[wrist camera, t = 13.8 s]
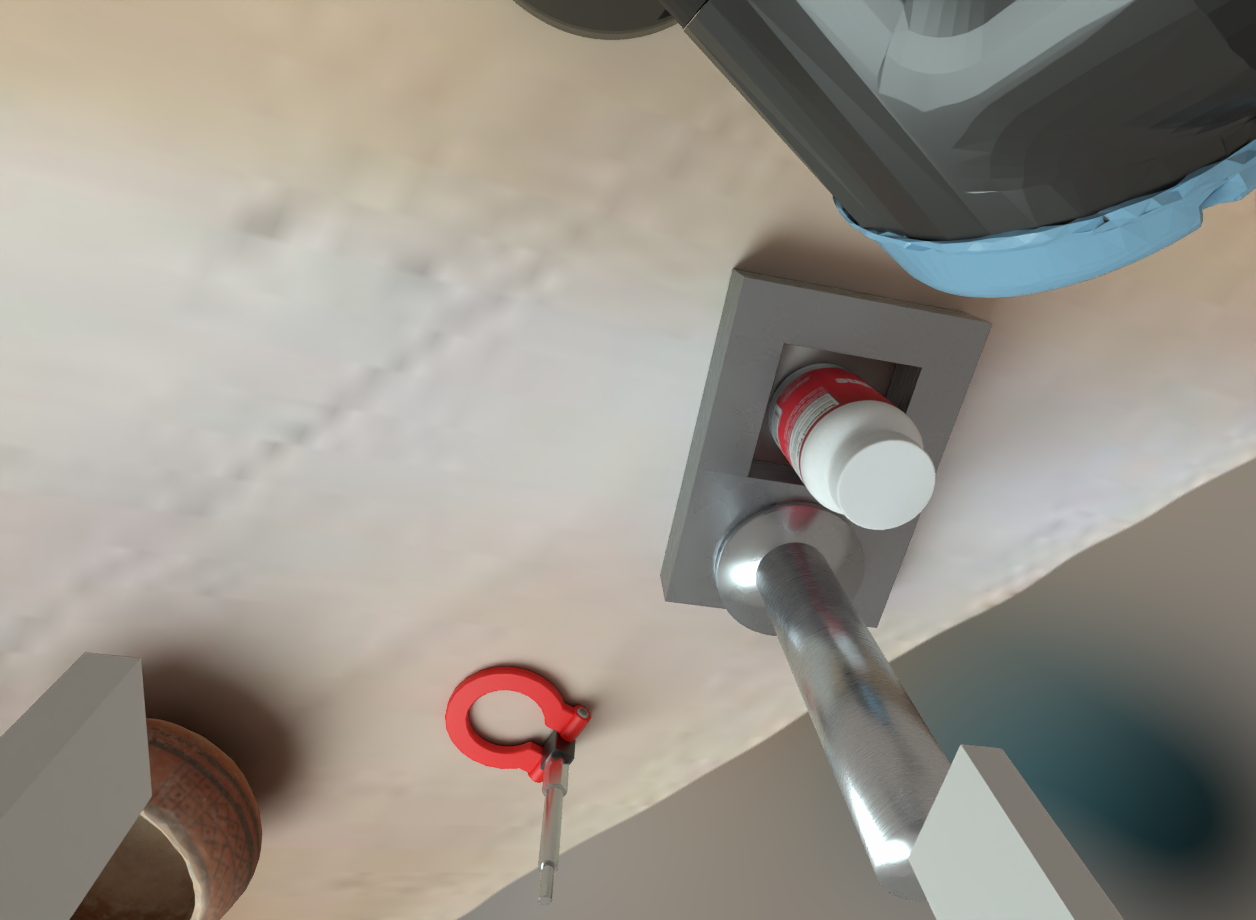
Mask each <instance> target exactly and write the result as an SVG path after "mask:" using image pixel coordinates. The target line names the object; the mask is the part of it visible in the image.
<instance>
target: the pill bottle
mask: <svg viewBox="0 0 1256 920" xmlns="http://www.w3.org/2000/svg"><path fill="white" fill-rule="evenodd" d="M768 423H769V429H770V432H771V434H772V437H773V439H774V441H775V442H776V444H777V446H778V447H779V448H780V450H781V451H782V453H783V454H784V455H785V457H786V458H787V460H788V461H789V463H790V464H791V466H792V467H793V468H794V470H795V471H796V473H797V474H798V476H799V477H800V479H801V480H802V482H803V483H804V485H805V486H806V488H807V490H808V491H809V492H810V494H811V495H812V496H813V497H814V498H815V499H816V500H817V501H818V502H819V503H821V504H822V505H823V506H825V507H826V508H828V509H830V510H832V511H834V512H837V513H840V514H844V515H845V516H846V517H847V518H848V519H849V520H850V521H852V522H853V523H855V524H856V525H859V526H861V527H864V528H867V529H873V530H885V529H891V528H895V527H898V526H901V525H903V524H905V523H907V522H909V521H910V520H912V519H913V518H915V517H916V516H917V515H918V514H919V513H920V512H921V511H922V510H923V509H924V508H925V506H926V505H927V504H928V502H929V500H930V498H931V496H932V494H933V491H934V487H935V483H936V475H935V468H934V465H933V462H932V460H931V458H930V457H929V455H928V454H927V453H926V452H925V450H924V449H923V442H922V438H921V435H920V433H919V431H918V429H917V427H916V426H915V424H914V423H913V421H912V420H911V419H910V418H909V417H908V416H907V415H906V414H905V413H904V412H903V411H901V410H900V409H899V408H897V407H896V406H895V405H894V404H892V403H891V402H890V401H889V400H887V399H886V398H885V397H883V396H882V395H881V394H880V393H878V392H877V391H876V390H875V389H873V388H872V387H871V386H870V385H868V384H867V383H866V382H864V381H863V380H862V379H861V378H859V377H858V376H857V375H856V374H854V373H853V372H851V371H849V370H848V369H846V368H844V367H841V366H838V365H834V364H827V363H821V364H813V365H809V366H806V367H803V368H801V369H799V370H797V371H795V372H794V373H792V374H791V375H789V376H788V377H787V378H786V379H785V380H784V381H783V382H782V383H781V384H780V385H779V387H778V388H777V390H776V391H775V393H774V395H773V397H772V399H771V402H770V405H769V411H768Z"/></svg>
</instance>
